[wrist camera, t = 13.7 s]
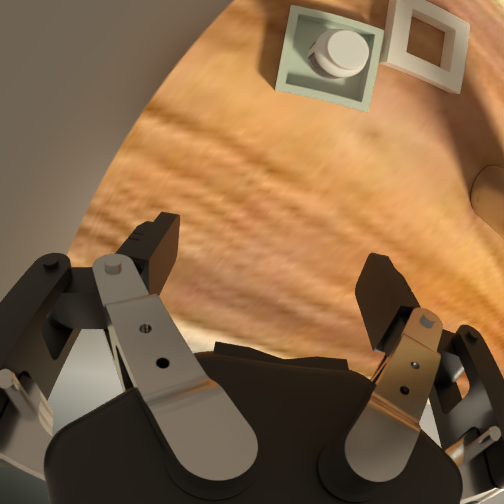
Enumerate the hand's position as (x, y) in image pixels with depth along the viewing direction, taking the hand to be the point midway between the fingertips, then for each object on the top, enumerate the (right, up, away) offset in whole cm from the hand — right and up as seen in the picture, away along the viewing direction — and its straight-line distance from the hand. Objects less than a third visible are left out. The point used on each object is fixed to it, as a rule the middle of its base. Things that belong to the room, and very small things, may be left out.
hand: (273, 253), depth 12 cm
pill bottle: (+8, +23, +18) cm, 30 cm away
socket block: (+21, +27, +15) cm, 37 cm away
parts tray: (+8, +23, +18) cm, 30 cm away
